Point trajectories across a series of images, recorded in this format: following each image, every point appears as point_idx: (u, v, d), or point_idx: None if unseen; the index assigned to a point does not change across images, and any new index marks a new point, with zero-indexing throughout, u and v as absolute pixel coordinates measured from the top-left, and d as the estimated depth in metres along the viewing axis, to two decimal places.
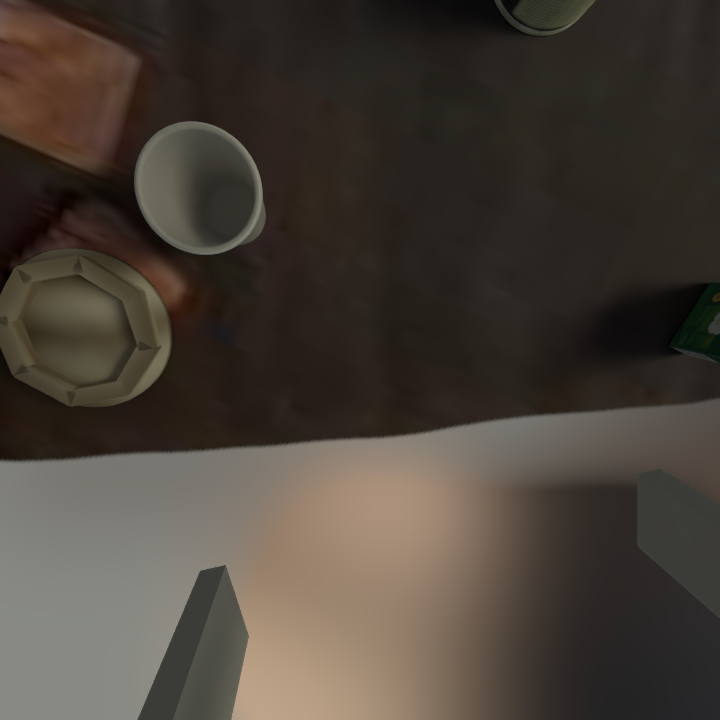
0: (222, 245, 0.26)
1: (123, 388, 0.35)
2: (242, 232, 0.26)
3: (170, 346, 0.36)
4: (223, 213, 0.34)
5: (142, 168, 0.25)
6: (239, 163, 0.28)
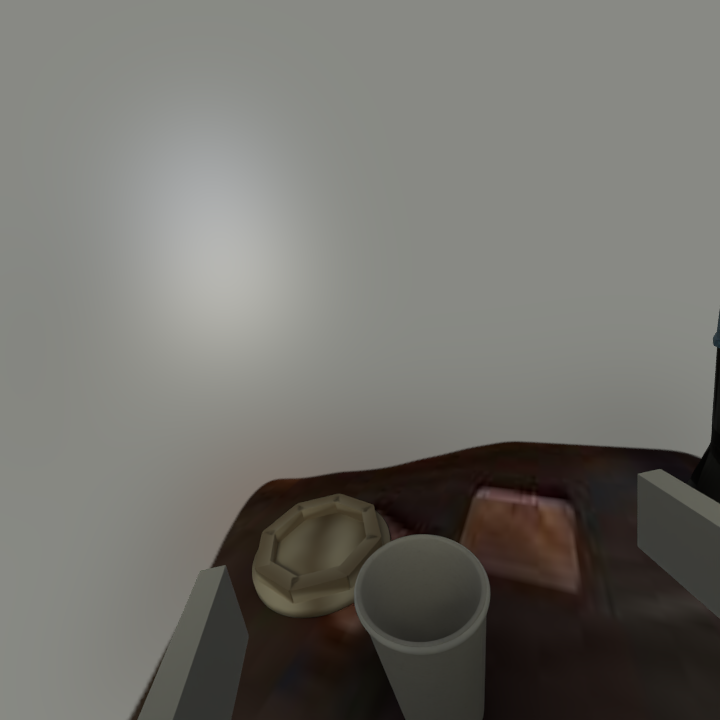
0: (361, 605, 0.22)
1: (262, 565, 0.37)
2: (375, 627, 0.21)
3: (292, 614, 0.34)
4: None
5: (433, 540, 0.26)
6: None
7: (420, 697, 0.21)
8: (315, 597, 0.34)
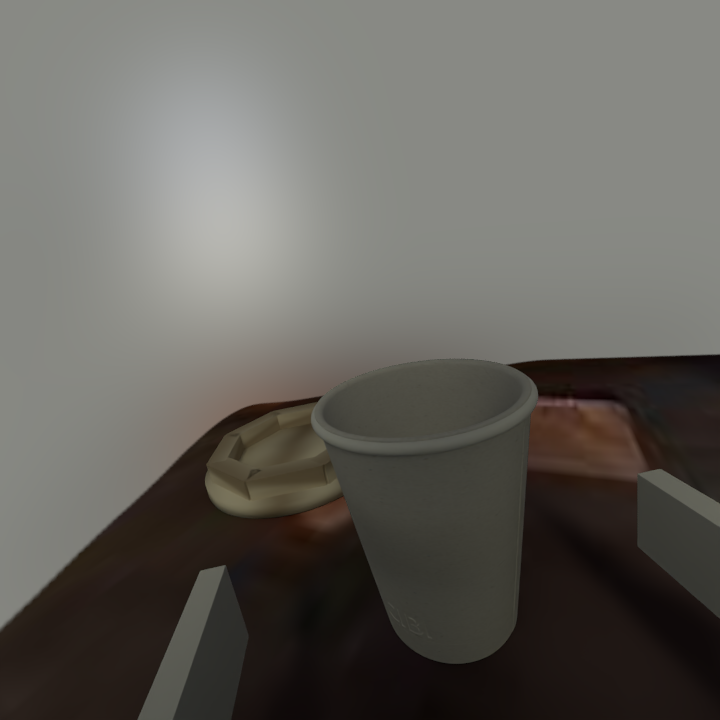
0: (320, 416, 0.13)
1: (216, 461, 0.29)
2: (337, 430, 0.12)
3: (247, 513, 0.25)
4: None
5: (441, 366, 0.18)
6: None
7: (414, 560, 0.12)
8: (280, 493, 0.25)
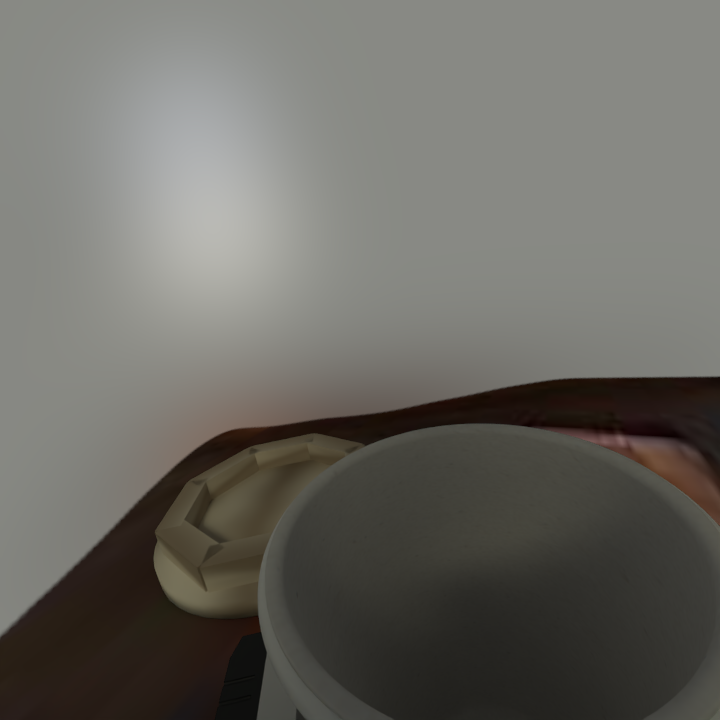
0: (276, 579, 0.07)
1: (168, 527, 0.22)
2: (303, 658, 0.05)
3: (202, 611, 0.18)
4: None
5: (487, 436, 0.11)
6: None
7: None
8: (247, 581, 0.18)
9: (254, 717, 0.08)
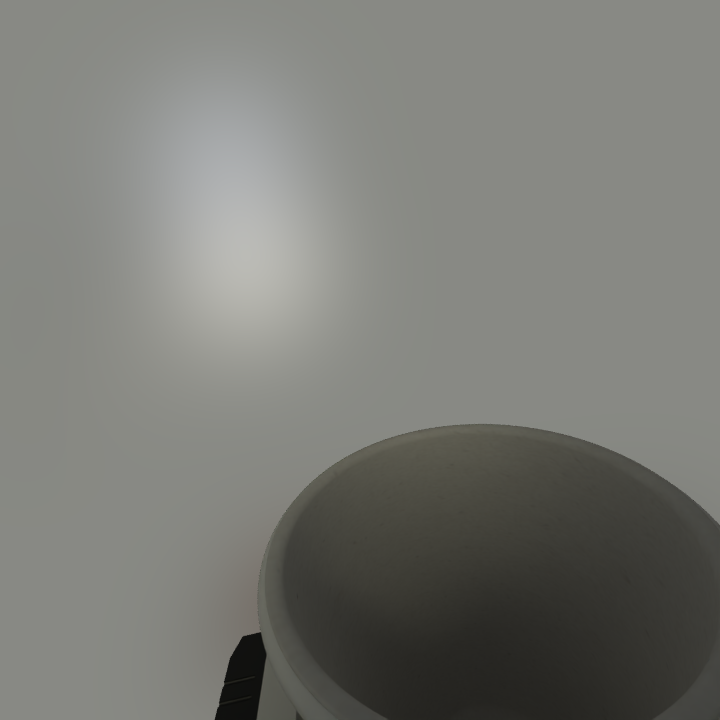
0: (276, 581, 0.07)
1: None
2: (304, 660, 0.05)
3: None
4: None
5: (488, 436, 0.11)
6: None
7: None
8: None
9: (254, 717, 0.08)
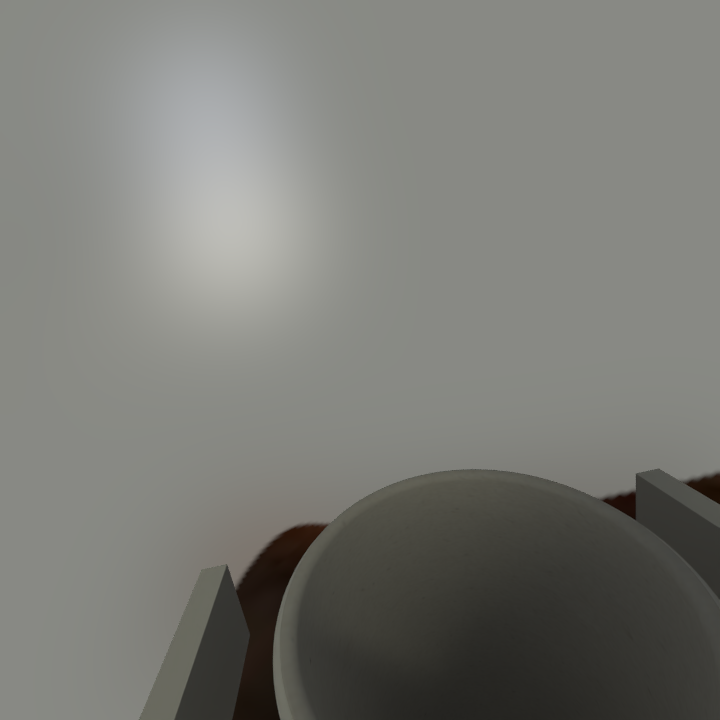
0: (291, 652, 0.07)
1: None
2: None
3: None
4: None
5: (493, 482, 0.11)
6: None
7: None
8: None
9: None
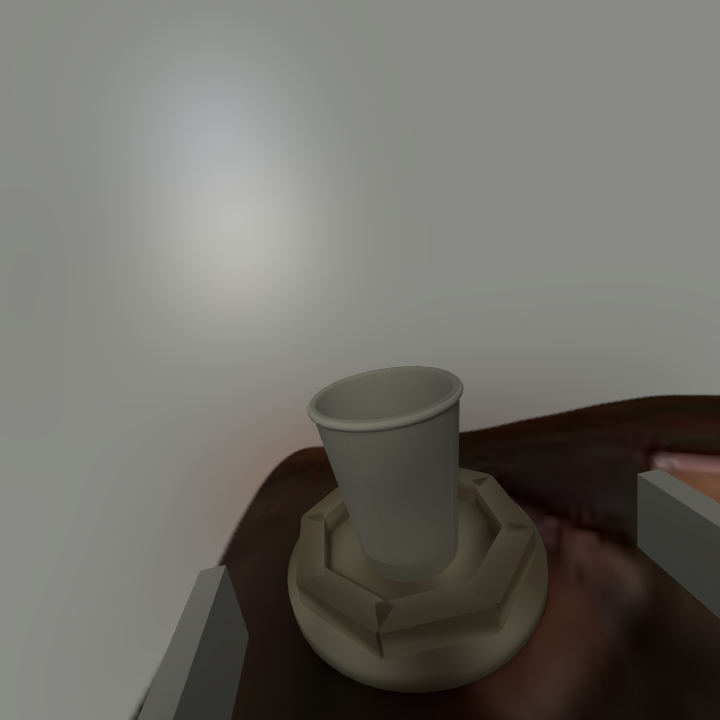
0: (314, 408, 0.19)
1: (309, 576, 0.20)
2: (326, 416, 0.18)
3: (381, 683, 0.16)
4: None
5: (404, 372, 0.23)
6: None
7: (378, 505, 0.18)
8: (429, 647, 0.16)
9: None
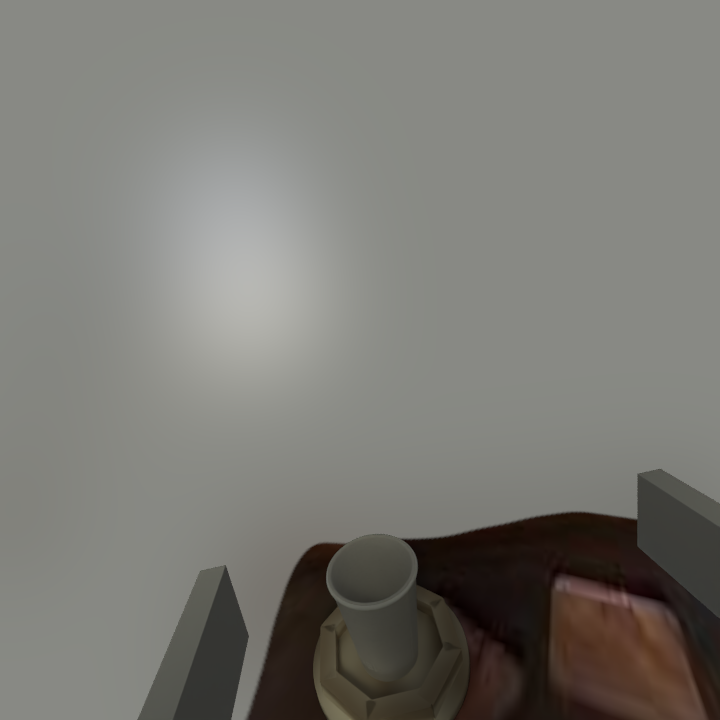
0: (330, 580, 0.33)
1: (328, 678, 0.33)
2: (338, 593, 0.31)
3: None
4: None
5: (386, 538, 0.37)
6: None
7: (368, 642, 0.32)
8: None
9: None
